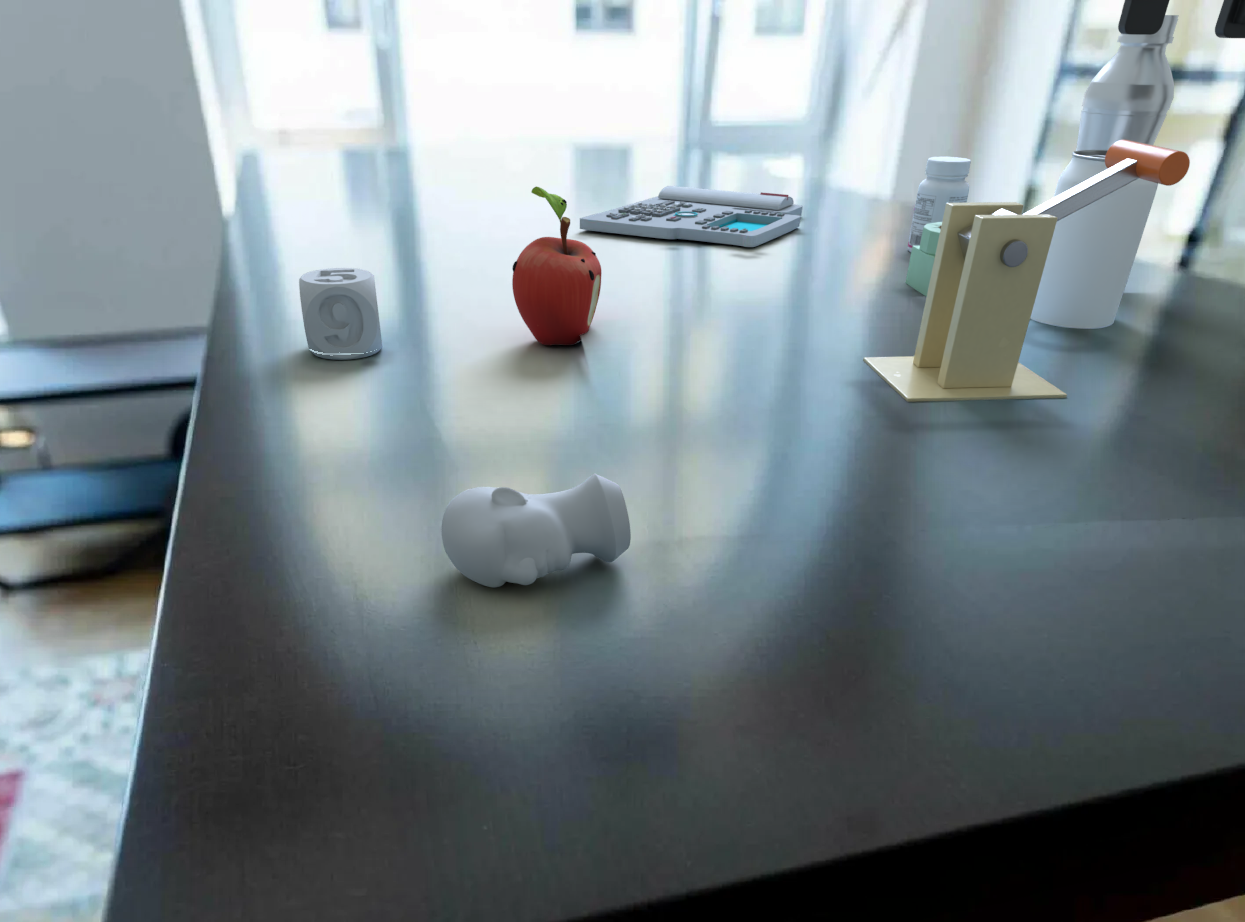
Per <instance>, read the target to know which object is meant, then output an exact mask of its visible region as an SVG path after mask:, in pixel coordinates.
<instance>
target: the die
mask: <svg viewBox="0 0 1245 922" xmlns="http://www.w3.org/2000/svg"><path fill="white" fill-rule="evenodd" d="M298 288H299V289H298V290H299V300H300V307H301V315H302V321H303V328H304V332H305V338H306V342H307V343H306V344H307V347H308V350H309V349H312V350H314V351H318V352H323V353H339V352H340V353H364V354H351V355H333V356H330V355H322V354H317V353H314V352H312V351H310V352H311V353H312V354H313V355H314V356H316V357H319V358H321V359H324V360H325V359H326V360H332V361H333V360H334V361H338V360H339V361H347V360H349V361H350V360H358V359H363V358H368V357H370V356H373V355H376V354H377V353H379V352H380V351H381V349H382V348H383V339H382V330H381V323H380V313H379V306H378V297H377V288H376V281H375V275H374V274H373V273H372V272H371V271H369V270H366V269H363V268H355V267H330V268H329V267H328V268H321V269H315V270H311V271H308V272H306V273H303V274H302V275H301V276H300V277H299V278H298ZM376 349H377V350H376ZM374 350H375V351H374ZM370 351H372V352H370ZM366 352H368V353H366Z"/></svg>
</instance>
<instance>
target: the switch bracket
mask: <svg viewBox="0 0 1245 922" xmlns="http://www.w3.org/2000/svg"><path fill="white" fill-rule="evenodd" d="M1000 209H1005V210H1007V211H1010V212H1012V213H1015V214H1018V215H991V214H993V213H995V212H996V211H998V210H1000ZM1023 209H1024V204H1023V203H1020V202H1016V201H988V202H987V201H985V202H984V201H983V202H982V201H980V202H979V201H978V202H977V201H976V202H975V201H973V202H970V201H969V202H967V203H946V206H945V211H944V216H943V221H942V225H941V230H940V235H939V240H938V245H937V249H936V254H935V259H934V264H933V269H932V273H931V278H930V283H929V288H928V293H927V296H925V297H926V298H925V302H924V308H923V313H922V318H921V322H920V326H919V331H918V337H917V340H916V345H915V351H914V354H913V356H912V355H911V356H864V357H863V358H862V361H863V362H864V363H865V364H866V365H867V366H868V367H869V368H871V369H872V370H873V371H874V372H875V373H876V375H878V376H879V377H880V378H881V379H882V380H883V381H885V383H887V384H888V385H889V386H890V387H891V388H892V389H893V390H894V391H895V392H896V393H897V394H898V395H899V396H900V397H902V398H903V399H904V400H905V401H906V402H908V403H909V402H911V403H913V402H915V403H916V402H949V401H985V400H988V401H990V400H991V401H992V400H993V401H994V400H1029V399H1061V398H1062V399H1064V398H1065V399H1067V397H1068V394H1067V393H1066V392H1064V391H1063V390H1061V389H1060V388H1058V387H1057V386H1055V385H1054V384H1052V383H1050V382H1049V381H1047V380H1046V379H1045V378H1043V377H1042V376H1040V375H1039V374H1038V373H1036V372H1035V371H1032V370H1031V369H1029V368H1028V367H1027V366H1025V365H1024V364H1022V363H1021V362H1019V360H1020V357H1021V354H1022V350H1023V348H1024V347H1023V346H1024V343H1025V339H1026V336H1027V332H1028V328H1029V325H1030V321H1031V319H1030V317H1031V314H1032V310H1033V306H1034V303H1035V299H1036V295H1037V292H1038V288H1039V284H1040V281H1041V277H1042V273H1043V270H1044V266H1045V262H1046V259H1047V255H1048V251H1049V248H1050V244H1051V240H1052V237H1053V233H1054V229H1055V226H1056V222H1057V217H1055V216H1052V215H1049V214H1034V215H1023V214H1022V213H1023ZM972 224H973V227H972V231H971V236H970V240H969V245H968V249H967V253H966V258H965V262H964V258H963V254H962V250H961V246H960V242H959V238H958V234H957V233H958V232H959V231H961V230H963V229H965V228H967V227H968V226H970V225H972Z"/></svg>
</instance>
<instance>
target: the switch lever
mask: <svg viewBox="0 0 1245 922" xmlns="http://www.w3.org/2000/svg"><path fill="white" fill-rule="evenodd" d="M1190 164H1191V160H1190V156H1189V155H1188V154H1187V153H1186V152H1185V151H1183V150H1177V149H1172V148H1168V147H1164V146H1159V145H1154V144H1153V145H1149V144H1144V143H1139V142H1135V141H1130V140H1119V141H1117V142H1115V143H1114V144H1113V145H1112V146H1111V147H1110V148H1109V149H1108V151H1107V153H1106V156H1105V165H1106V167H1107V170H1105V171H1103V172H1101V173H1099V174H1098V175H1096V176H1094V177H1092V178H1090V179H1088V180H1086V181H1084V182H1083V183H1081V184H1079V185H1077V186H1075V187H1073V188H1071V189H1069V190H1068V191H1066V192H1064V193H1062V194H1060V195H1058V196H1056V197H1054V196H1053V197H1054V198H1053V197H1052V198H1051V199H1049V200H1047V201H1045V202H1043V203H1042V204H1039V205H1037V206H1035V207H1034V208H1032V209H1030V210H1027V211H1026V212H1024V213H1023V214H1022V215H1034V214H1049V215H1052V216H1055V217H1057V221H1059V220H1061V219H1063V218H1064V217H1066V216H1068V215H1070V214H1072V213H1074V212H1076V211H1078V210H1080V209H1081V208H1083V207H1085V206H1087V205H1089V204H1091V203H1093V202H1095V201H1097V200H1099V199H1100V198H1102V197H1104V196H1106V195H1108V194H1110V193H1112V192H1114V191H1116V190H1117V189H1119V188H1121V187H1123V186H1125V185H1127V184H1129V183H1131V182H1133V181H1135V180H1136V179H1138V178H1140V179H1143V180H1147V181H1151V182H1155V183H1158V185H1162V186H1168V187H1170V186H1174V185H1176V184H1178V183H1179V182H1181V181H1182V180H1184V178H1185V176H1186V175H1187V173H1188V171H1189V169H1190ZM991 215H1018V214H1015V213H1012V212H1010V211H1007V210H1005V209H1000V210H998V211H996V212H995V213H993V214H991ZM972 227H973V224H972V225H970V226H968V227H967V228H965V229H963V230H961V231H959V232H958V233H957V234H958V238H959V242H960V246H961V250H962V254H963V258H964V262H965V258H966V253H967V249H968V245H969V240H970V236H971V231H972Z"/></svg>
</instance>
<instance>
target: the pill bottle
mask: <svg viewBox="0 0 1245 922" xmlns="http://www.w3.org/2000/svg"><path fill="white" fill-rule="evenodd" d="M971 162H972V160H971V159H969V158H966V157H960V156H959V157H957V156H932V157H931V156H930V157H928V159H927V161H926V166H925V171H924V172H925V173H924V175H925V176H926V178H925V179H923V180H922V181H921V182H920V183H919V185H918V187H917V188H918V189H917V193H916V199H915V204H914V210H913V215H912V221H911V226H910V231H909V237H908V243H907V251H908V252H909V253H911V251H912V246H920V243H921V238H922V233H923V228H924V226H925V225H926V224H929V223H935V222H942V221H943V216H944V211H945V206H946V203H968V198H969V192H970V185H969V184H970V183H969V182H968V181H966V178H968V177H969V175H968V174H969V173H970V170H971V169H970V168H971Z"/></svg>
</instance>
